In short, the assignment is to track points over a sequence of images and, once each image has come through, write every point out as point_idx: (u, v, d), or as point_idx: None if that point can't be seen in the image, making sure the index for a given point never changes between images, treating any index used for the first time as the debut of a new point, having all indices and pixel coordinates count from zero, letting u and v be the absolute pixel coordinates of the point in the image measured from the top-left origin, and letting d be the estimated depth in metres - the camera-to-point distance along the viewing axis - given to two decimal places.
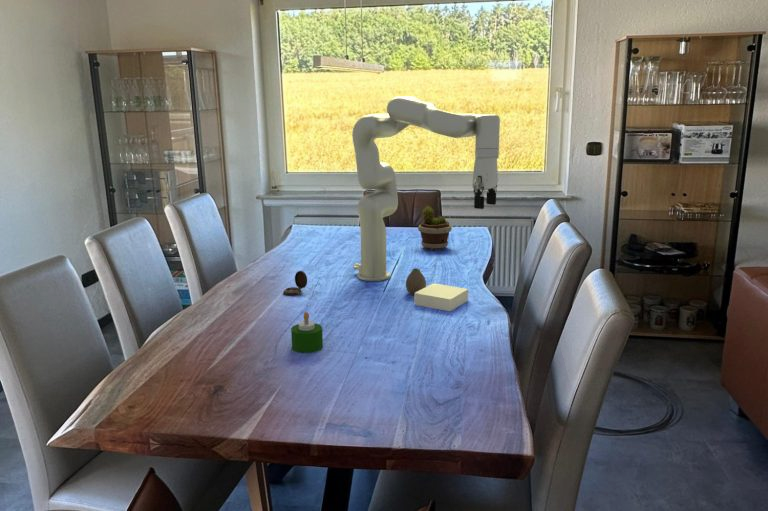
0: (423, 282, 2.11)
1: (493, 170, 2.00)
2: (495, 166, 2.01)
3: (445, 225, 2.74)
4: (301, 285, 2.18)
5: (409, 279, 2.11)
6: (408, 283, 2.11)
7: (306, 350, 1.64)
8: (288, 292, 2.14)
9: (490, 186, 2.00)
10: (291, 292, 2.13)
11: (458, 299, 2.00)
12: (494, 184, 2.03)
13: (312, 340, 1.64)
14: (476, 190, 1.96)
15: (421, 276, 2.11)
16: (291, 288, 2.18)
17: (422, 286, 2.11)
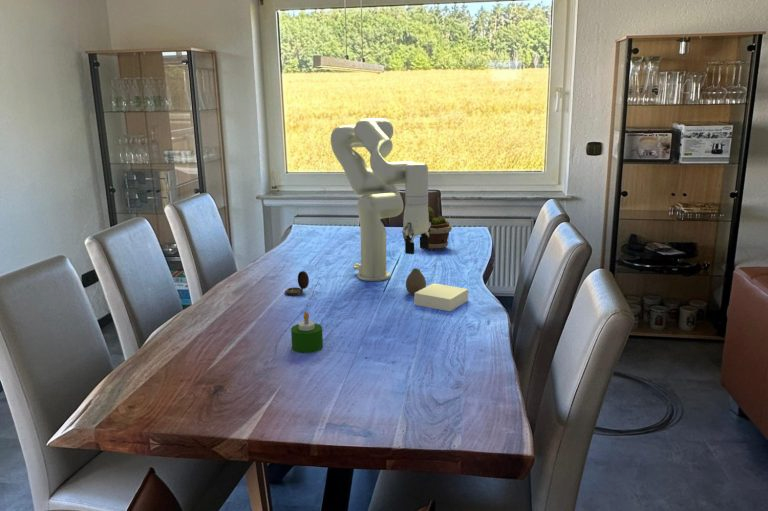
0: (423, 282, 2.11)
1: (423, 216, 2.06)
2: (425, 212, 2.07)
3: (445, 225, 2.74)
4: (303, 285, 2.18)
5: (409, 279, 2.11)
6: (408, 283, 2.11)
7: (306, 350, 1.64)
8: (289, 292, 2.13)
9: (420, 232, 2.07)
10: (292, 292, 2.13)
11: (458, 299, 2.00)
12: (425, 229, 2.09)
13: (312, 340, 1.64)
14: (405, 237, 2.02)
15: (421, 276, 2.11)
16: (293, 288, 2.18)
17: (422, 286, 2.11)
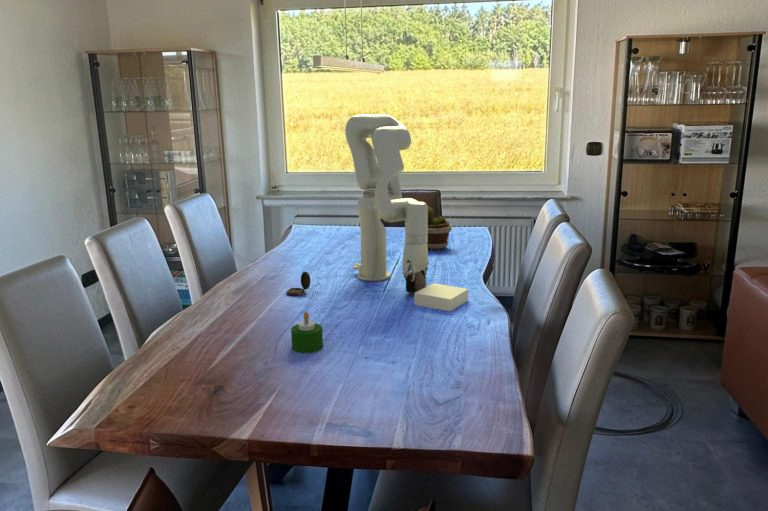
0: (423, 282, 2.11)
1: (422, 254, 2.10)
2: (424, 250, 2.11)
3: (445, 225, 2.74)
4: (305, 286, 2.17)
5: None
6: None
7: (306, 350, 1.64)
8: (290, 292, 2.13)
9: (419, 269, 2.10)
10: (292, 292, 2.13)
11: (458, 299, 2.00)
12: (425, 266, 2.13)
13: (312, 340, 1.64)
14: (406, 276, 2.07)
15: (421, 276, 2.11)
16: (296, 288, 2.18)
17: (422, 286, 2.11)
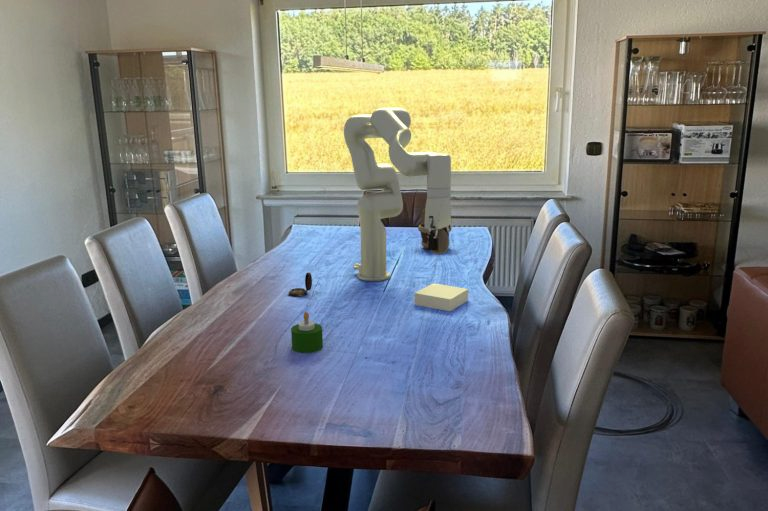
0: (447, 239, 1.99)
1: (445, 209, 1.97)
2: (447, 205, 1.99)
3: None
4: (308, 287, 2.16)
5: None
6: None
7: (306, 350, 1.64)
8: (291, 292, 2.13)
9: (442, 226, 1.98)
10: (293, 293, 2.12)
11: (458, 299, 2.00)
12: (448, 223, 2.01)
13: (312, 340, 1.64)
14: (429, 232, 1.95)
15: (444, 233, 1.99)
16: (299, 289, 2.17)
17: (445, 244, 1.99)
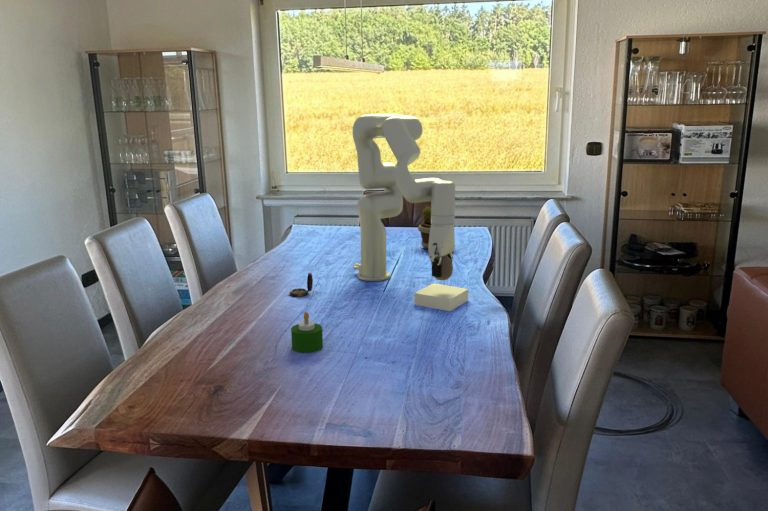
0: (450, 266, 2.00)
1: (449, 236, 1.98)
2: (451, 232, 1.99)
3: None
4: None
5: None
6: None
7: (306, 350, 1.64)
8: (292, 293, 2.13)
9: (446, 252, 1.99)
10: (294, 293, 2.12)
11: (458, 299, 2.00)
12: (451, 249, 2.01)
13: (312, 340, 1.64)
14: (433, 259, 1.95)
15: (448, 260, 2.00)
16: (301, 289, 2.17)
17: (449, 270, 1.99)
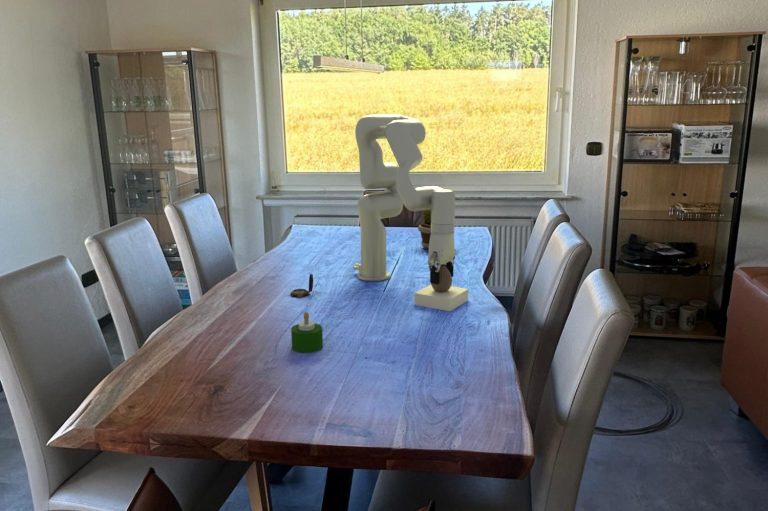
0: (449, 278, 2.01)
1: (449, 245, 1.99)
2: (451, 240, 2.00)
3: None
4: None
5: None
6: None
7: (306, 350, 1.64)
8: (292, 293, 2.13)
9: (446, 261, 1.99)
10: (294, 293, 2.12)
11: (458, 299, 2.00)
12: (451, 258, 2.02)
13: (312, 340, 1.64)
14: (431, 266, 1.95)
15: (447, 272, 2.01)
16: (302, 290, 2.16)
17: (448, 282, 2.00)
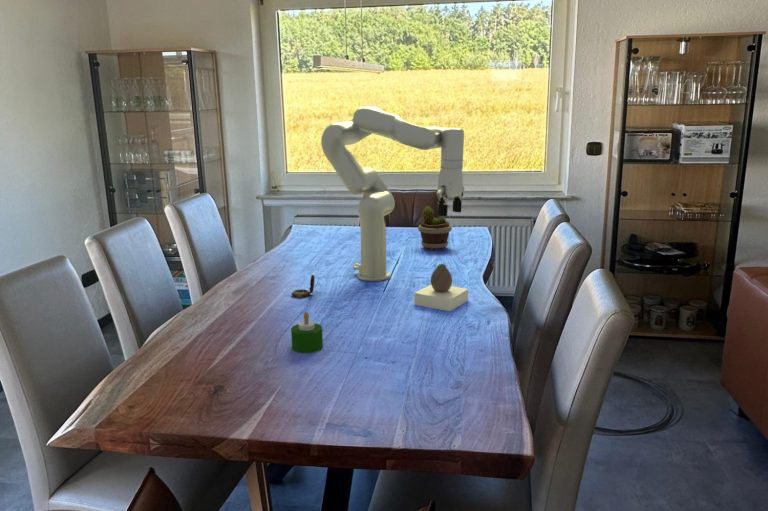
0: (449, 278, 2.01)
1: (457, 180, 2.13)
2: (459, 176, 2.14)
3: (445, 225, 2.74)
4: None
5: (435, 275, 2.01)
6: (433, 279, 2.01)
7: (306, 350, 1.64)
8: (293, 293, 2.12)
9: (454, 195, 2.14)
10: (294, 294, 2.11)
11: (458, 299, 2.00)
12: (459, 193, 2.16)
13: (312, 340, 1.64)
14: (439, 199, 2.10)
15: (447, 272, 2.01)
16: (304, 290, 2.15)
17: (448, 282, 2.00)
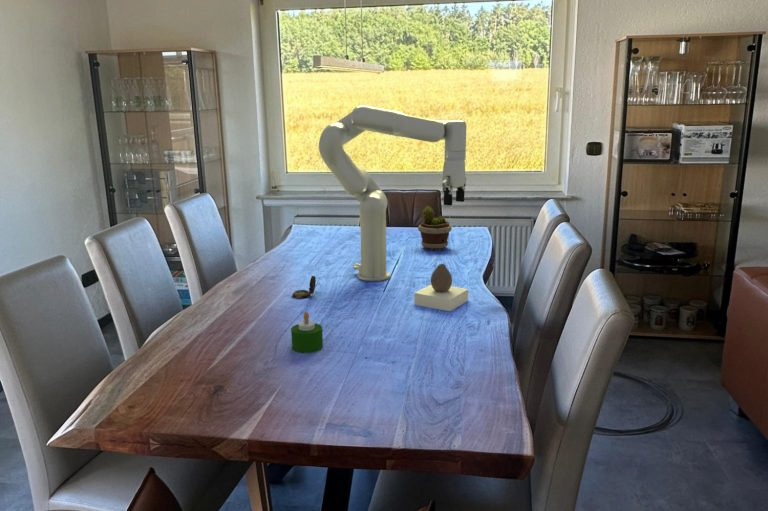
0: (449, 278, 2.01)
1: (461, 170, 2.22)
2: (463, 167, 2.23)
3: (445, 225, 2.74)
4: None
5: (435, 275, 2.01)
6: (433, 279, 2.01)
7: (306, 350, 1.64)
8: (293, 293, 2.12)
9: (458, 185, 2.22)
10: (294, 294, 2.11)
11: (458, 299, 2.00)
12: (462, 183, 2.25)
13: (312, 340, 1.64)
14: (445, 188, 2.18)
15: (447, 272, 2.01)
16: (306, 291, 2.14)
17: (448, 282, 2.00)
